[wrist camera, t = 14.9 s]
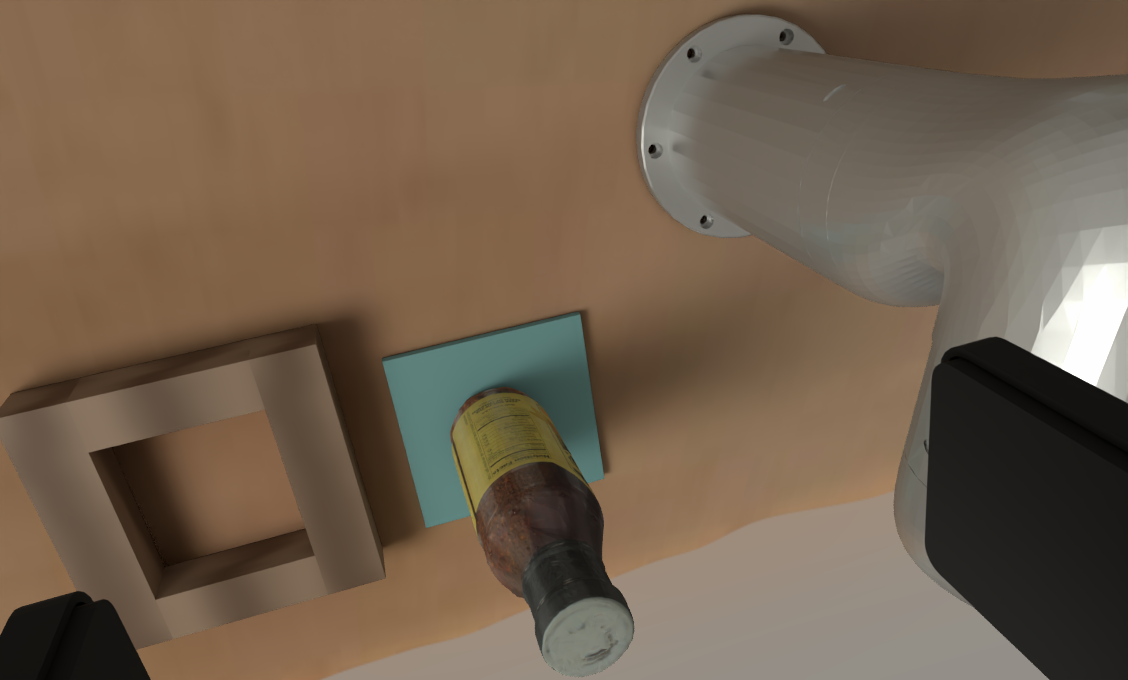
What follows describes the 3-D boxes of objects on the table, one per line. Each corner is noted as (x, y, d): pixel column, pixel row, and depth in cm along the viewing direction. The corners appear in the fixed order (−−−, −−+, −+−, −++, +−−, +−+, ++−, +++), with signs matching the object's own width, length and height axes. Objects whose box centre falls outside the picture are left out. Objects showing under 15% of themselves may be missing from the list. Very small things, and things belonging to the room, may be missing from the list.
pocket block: (316, 323, 47) (315, 344, 44) (382, 548, 54) (385, 578, 51) (10, 393, 44) (-10, 420, 42) (121, 621, 51) (110, 657, 48)
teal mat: (577, 311, 51) (580, 314, 50) (602, 474, 56) (604, 478, 56) (381, 358, 49) (382, 361, 48) (425, 523, 54) (426, 528, 53)
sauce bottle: (535, 471, 54) (640, 708, 36) (439, 467, 52) (501, 716, 34) (555, 379, 52) (677, 584, 34) (455, 371, 50) (530, 584, 32)
